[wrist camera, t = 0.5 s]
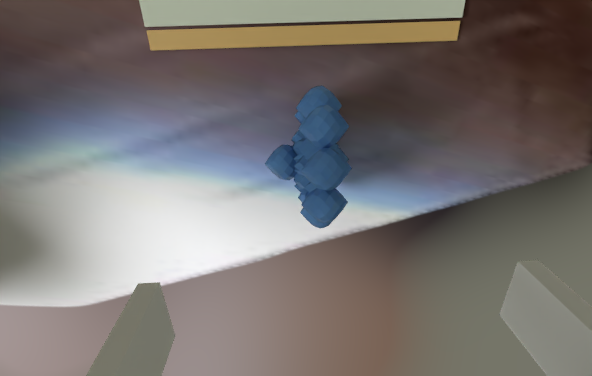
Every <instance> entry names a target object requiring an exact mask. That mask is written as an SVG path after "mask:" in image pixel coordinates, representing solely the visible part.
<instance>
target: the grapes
mask: <svg viewBox="0 0 592 376" xmlns="http://www.w3.org/2000/svg"><path fill="white" fill-rule="evenodd" d="M341 106H342V105H341V104H340V102H339V101H338V100H337V98H336V97H335V96H334V94H333V93H332V92H331V91H329V90H328V89H326V88H325V87H323V86H316V87H314V88H312V89H310V90H309V91H308V92H307V93H306V94H305V96H304V97H303V98H302V100H301V101H300V103H299V104H298V106H297V107H296V109H297V110H298V112H297V113H296V115H295V117H296V118H297V119H298V121H299V122H300V123H301V126H300V127H299V130H298V131H297V132H296V134H295V135H294V136H293V138H292V141H293V142H294V144H293V146H290V145H281V146H280V147H278V148H277V149H276V150H275V151H273V153H272V154H271V156H270V157H269V158H268V160H267V161H266V163H265V164H266V166H267V167H268V168H269V169H270V170H271V171H272V172H273V173H274V174H275V175H276V176H277V177H279V178H280V179H284V180H290V179H292V178H293V177H294V178H295V179H294V181H295V182H296V185H295V187H296V188H297V189H298V190H299V191H300V192H301V194H300V196H299V197H298V198H299V199H300V200H301V202H302V204H301V205H302V206H303V209H302V210H301V212H300V213H301V214H302V215H303V216H304V217H305V218H306V219H307V220H308V221H309V222H310V223H311V224H312V225H313V226H315V227H318V228H324V227H326V226H329V225H330V223H331V222H332V221H333V220H334V219H335V218H336V217H337V216H338V215H339V213H340V212H341V211H342V210H343V209H344V207H345V206H346V204H347V203H348V202H347V200H346V199H345V198H344V197H343V195H342V194H341V193H340V192H339V191H338V190H336V189H335V188H336V187H337V186H338V185H339V184H340V183H341V182H342V181H343V180H344V178H345V177H346V176H347V175H348V173H349V172H350V170H351V169H352V168H351V166H350V165H349V164H348V163H347V161H348V160H349V159H348V158H347V156H346V155H345V154H344V153H343V151H342V150H341V149H340V148H339V147H338V145H337V142H338V141H339V140H340V138H341V137H342V136H343V135H344V133H345V132H346V130H347V129H348V127H349V125H348V124H347V123H346V121H345V120H344V118H343V117H342V116H341V115H340V113H339V112H338V111H339V109H340V108H341Z"/></svg>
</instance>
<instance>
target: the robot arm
mask: <svg viewBox="0 0 592 376" xmlns="http://www.w3.org/2000/svg"><path fill="white" fill-rule="evenodd" d="M499 315H500V316H501V318H502V319H503V320H504V321H505V323H506V324H507V325H508V327H509V328H510V329H511V330H512V332H513V333H514V334H515V335H516V337H517V338H518V339H519V341H520V342H521V343H522V344H523V346H524V347H525V348H526V350H527V351H528V352H529V353H530V355H531V356H532V357H533V359H534V360H535V361H536V362H537V363H538V365H539V366H540V367H541V369H542V370H543V371H544V373H545V374H546V375H547V376H592V307H591V306H590V305H589V304H588V303H587V302H586V301H584V300H583V299H582V298H581V297H580V296H579V295H578V294H576V293H575V292H574V291H573V290H572V289H571V288H570V287H568V286H567V285H566V284H565V283H564V282H563V281H562V280H560V279H559V278H558V277H557V276H556V275H555V274H554V273H552V272H551V271H550V270H549V269H548V268H547V267H546V266H544V265H543V264H542V263H541V262H540V261H539V260H529V261H518V262H517V265H516V268H515V271H514V274H513V277H512V280H511V282H510V285H509V288H508V291H507V294H506V297H505V300H504V302H503V306H502V308H501V311H500V314H499ZM174 338H175V333H174V330H173V326H172V323H171V319H170V316H169V313H168V309H167V306H166V302H165V299H164V296H163V292H162V289H161V285H160V282H159V283H143V284H138V285H137V287H136V288H135V290H134V292H133V294H132V295H131V297H130V299H129V301H128V303H127V304H126V306H125V308H124V310H123V311H122V313H121V315H120V317H119V319H118V320H117V322H116V324H115V326H114V327H113V329H112V331H111V333H110V334H109V336H108V338H107V340H106V341H105V343H104V345H103V347H102V349H101V350H100V352H99V354H98V356H97V358H96V359H95V361H94V363H93V365H92V366H91V368H90V370H89V372H88V374H87V375H86V376H162V373H163V370H164V367H165V364H166V361H167V358H168V355H169V352H170V349H171V347H172V344H173V341H174Z"/></svg>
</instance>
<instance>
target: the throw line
mask: <svg viewBox="0 0 592 376" xmlns="http://www.w3.org/2000/svg"><path fill="white" fill-rule="evenodd" d="M459 26H460V21H439V22H406V23H373V24H340V25H307V26H274V27H241V28H208V29H175V30H147V35H148V40H149V44H150V49H151V50H181V49H212V48H243V47H273V46H304V45H335V44H366V43H397V42H428V41H457V37H458V32H459Z"/></svg>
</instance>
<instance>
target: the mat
mask: <svg viewBox="0 0 592 376" xmlns="http://www.w3.org/2000/svg"><path fill="white" fill-rule="evenodd" d="M139 2H140V6H141V11H142V16H143V21H144V25H145V27H163V26H197V25H230V24H263V23H297V22H330V21H363V20H397V19H430V18H461V17H462V16H463V11H464V5H465V0H139Z"/></svg>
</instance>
